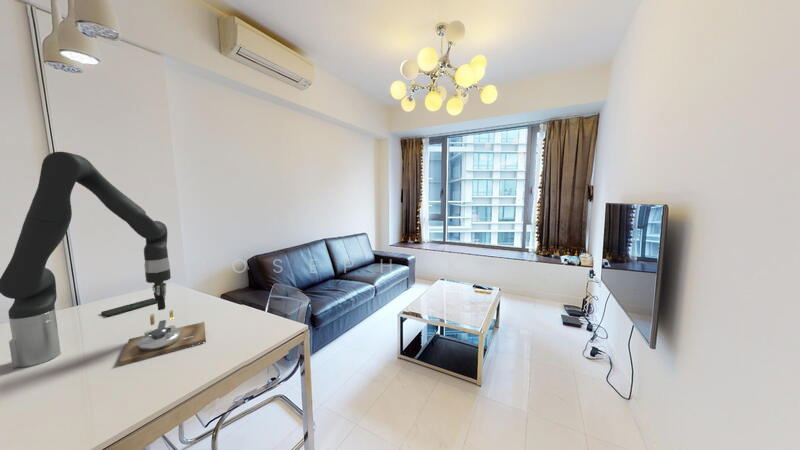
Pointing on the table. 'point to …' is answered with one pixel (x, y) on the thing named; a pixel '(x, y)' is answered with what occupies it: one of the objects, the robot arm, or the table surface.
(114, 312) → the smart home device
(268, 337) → the table surface
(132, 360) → the base plate
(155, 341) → the silver rotary lever
